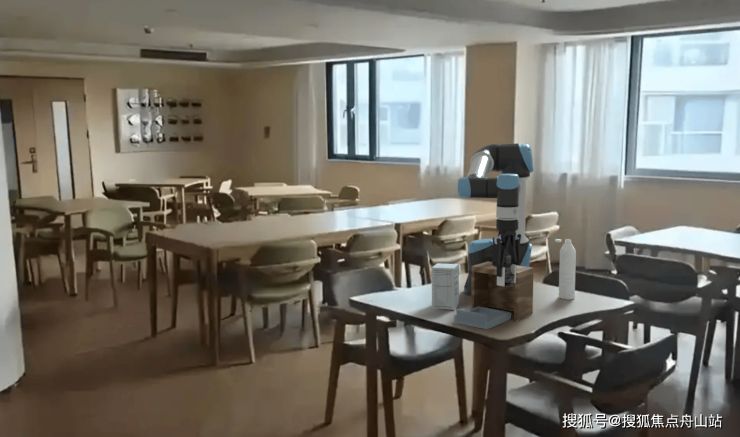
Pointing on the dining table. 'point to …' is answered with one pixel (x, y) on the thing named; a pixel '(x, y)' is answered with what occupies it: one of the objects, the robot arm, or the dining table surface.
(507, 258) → the dark grey figurine
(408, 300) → the dining table surface
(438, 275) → the supplement box
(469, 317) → the tray
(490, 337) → the dining table surface
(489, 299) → the wooden crate
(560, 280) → the water bottle
